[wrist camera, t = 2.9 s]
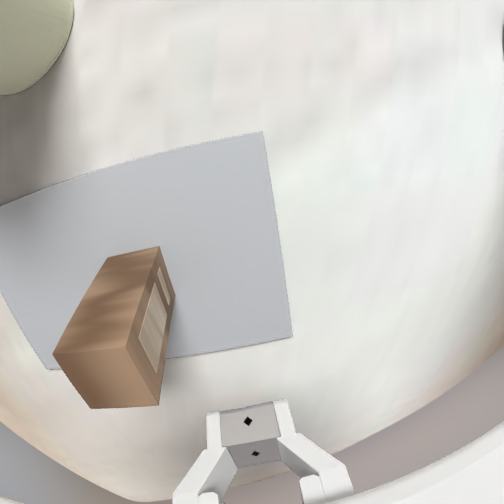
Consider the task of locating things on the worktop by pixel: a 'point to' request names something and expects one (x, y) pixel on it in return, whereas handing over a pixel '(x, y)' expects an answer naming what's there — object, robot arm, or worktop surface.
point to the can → (31, 40)
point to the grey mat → (155, 245)
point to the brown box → (120, 333)
